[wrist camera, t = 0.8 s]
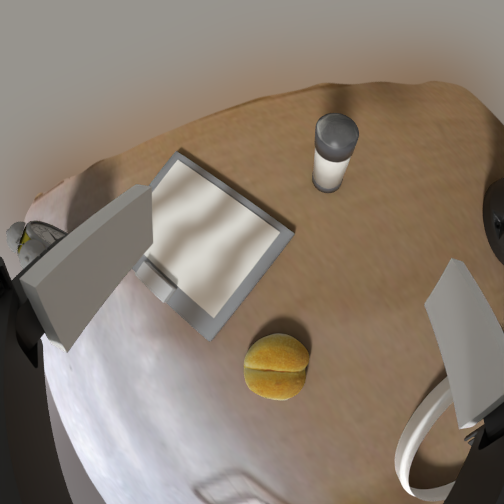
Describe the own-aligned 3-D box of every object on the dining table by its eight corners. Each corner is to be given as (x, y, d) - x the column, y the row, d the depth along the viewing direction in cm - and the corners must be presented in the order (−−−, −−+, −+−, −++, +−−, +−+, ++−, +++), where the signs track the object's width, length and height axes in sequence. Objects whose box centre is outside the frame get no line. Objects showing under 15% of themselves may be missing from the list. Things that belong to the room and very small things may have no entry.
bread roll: (312, 335, 34) (313, 341, 31) (301, 397, 34) (301, 409, 30) (249, 327, 36) (243, 332, 32) (241, 388, 35) (235, 399, 31)
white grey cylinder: (347, 176, 36) (366, 128, 23) (331, 199, 36) (344, 157, 23) (322, 160, 37) (330, 106, 24) (305, 181, 37) (307, 133, 24)
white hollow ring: (447, 338, 31) (466, 344, 26) (533, 369, 25) (550, 375, 20) (363, 483, 30) (368, 502, 24) (465, 487, 24) (475, 500, 19)
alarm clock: (105, 259, 41) (35, 248, 26) (90, 294, 41) (21, 293, 26) (69, 228, 43) (8, 210, 29) (56, 259, 43) (-5, 250, 28)
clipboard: (294, 234, 36) (294, 231, 34) (211, 340, 36) (206, 343, 34) (178, 153, 41) (172, 147, 38) (112, 244, 41) (103, 242, 39)
